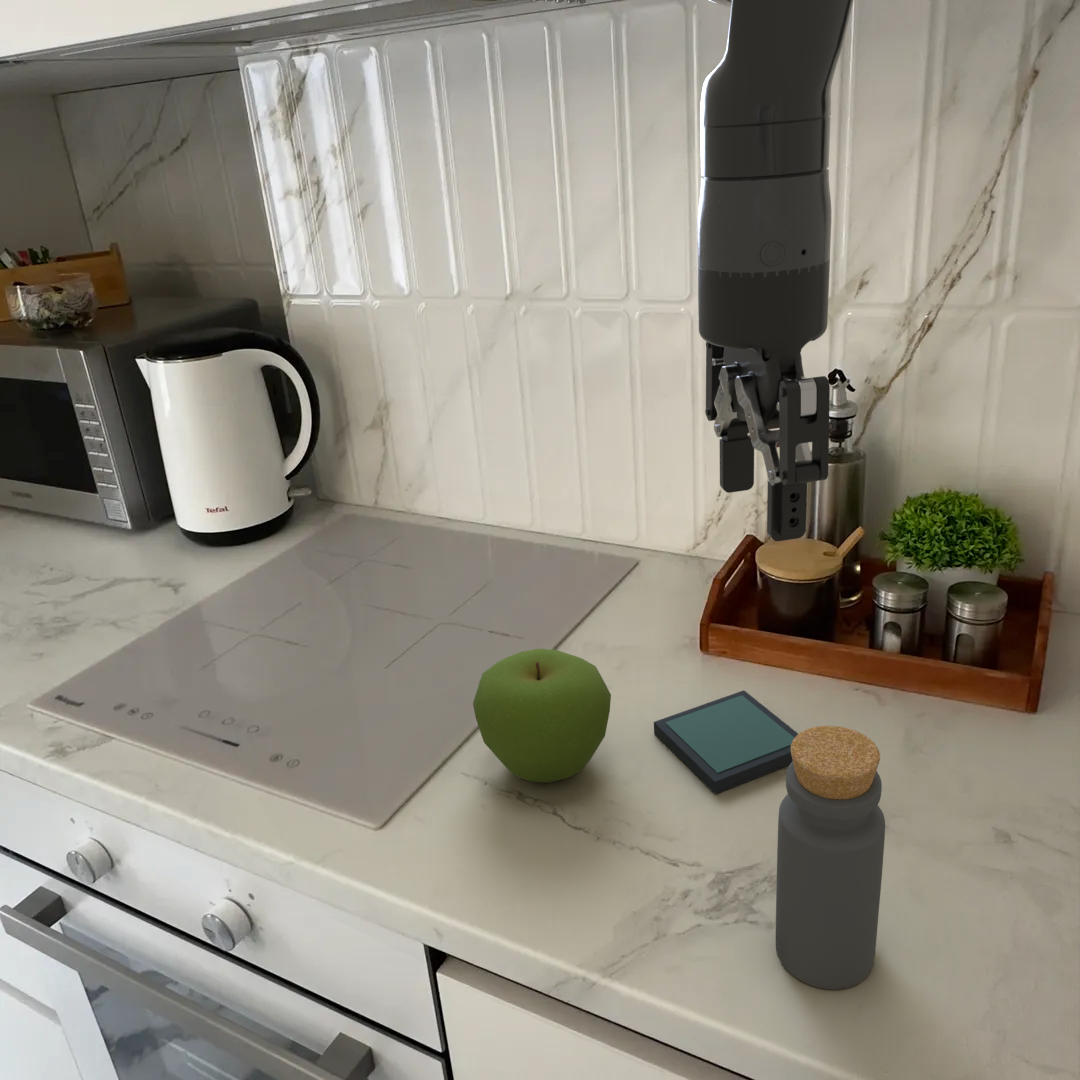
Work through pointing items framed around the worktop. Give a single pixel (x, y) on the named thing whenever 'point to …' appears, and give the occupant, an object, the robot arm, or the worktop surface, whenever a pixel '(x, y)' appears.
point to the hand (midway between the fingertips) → (759, 512)
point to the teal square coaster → (728, 740)
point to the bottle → (830, 858)
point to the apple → (542, 713)
